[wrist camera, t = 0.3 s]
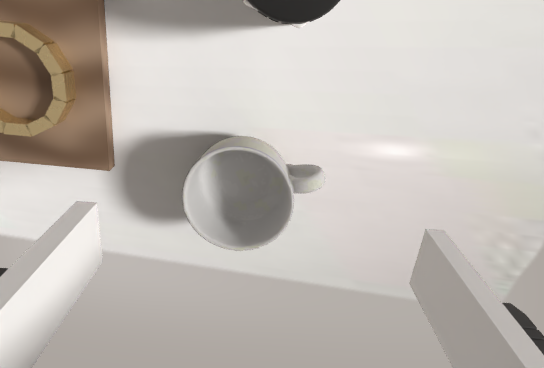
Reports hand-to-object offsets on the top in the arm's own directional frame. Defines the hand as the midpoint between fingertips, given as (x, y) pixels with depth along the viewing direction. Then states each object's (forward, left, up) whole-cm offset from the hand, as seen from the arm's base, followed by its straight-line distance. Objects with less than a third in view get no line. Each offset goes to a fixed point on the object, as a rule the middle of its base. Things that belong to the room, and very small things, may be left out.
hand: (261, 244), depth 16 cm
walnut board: (-1, -24, -27) cm, 36 cm away
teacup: (+8, 0, -28) cm, 29 cm away
